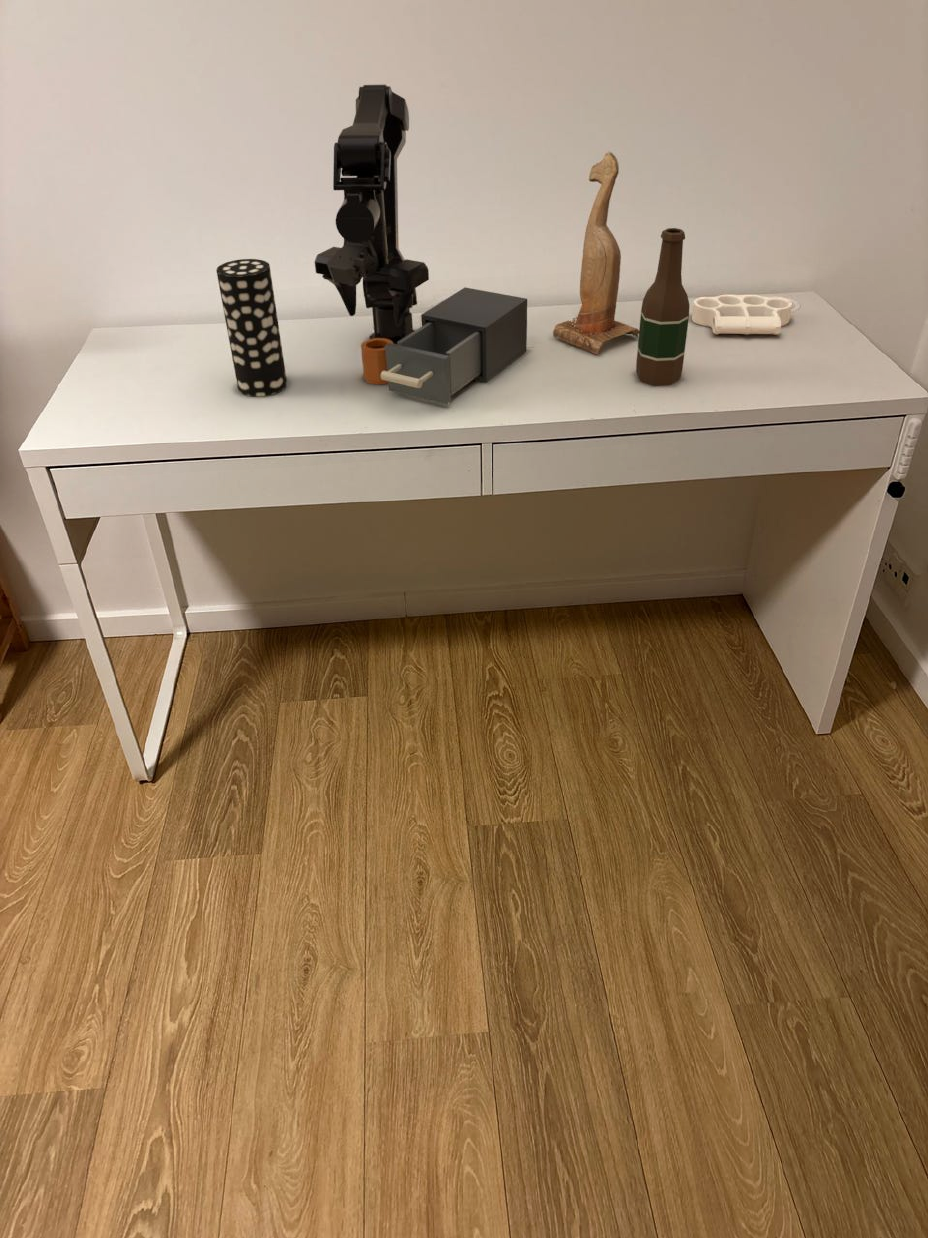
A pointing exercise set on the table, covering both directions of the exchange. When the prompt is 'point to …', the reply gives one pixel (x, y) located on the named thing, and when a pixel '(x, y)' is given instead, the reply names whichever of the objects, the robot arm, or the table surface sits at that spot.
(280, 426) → the table surface
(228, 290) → the spotted tube
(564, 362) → the table surface
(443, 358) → the drawer
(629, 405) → the table surface
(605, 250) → the bird sculpture
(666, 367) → the beer bottle
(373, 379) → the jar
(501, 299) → the cabinet
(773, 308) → the white brass knuckles
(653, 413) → the table surface
